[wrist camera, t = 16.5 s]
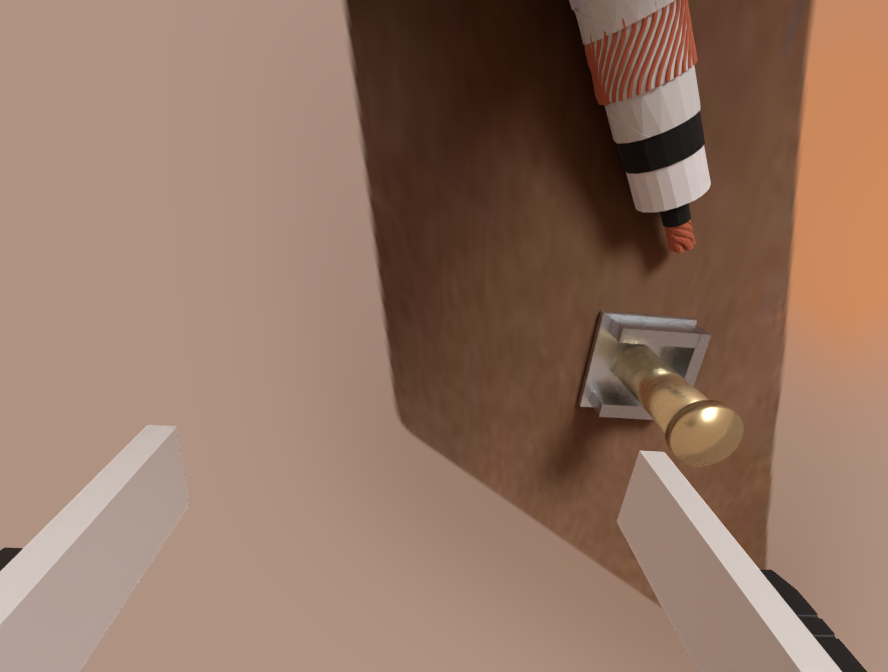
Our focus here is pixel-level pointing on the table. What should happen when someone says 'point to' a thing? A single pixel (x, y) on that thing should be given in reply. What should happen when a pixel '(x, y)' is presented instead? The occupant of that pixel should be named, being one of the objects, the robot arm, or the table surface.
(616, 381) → the keeper bracket
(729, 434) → the end pin
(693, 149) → the cable
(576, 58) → the table surface
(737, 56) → the table surface
